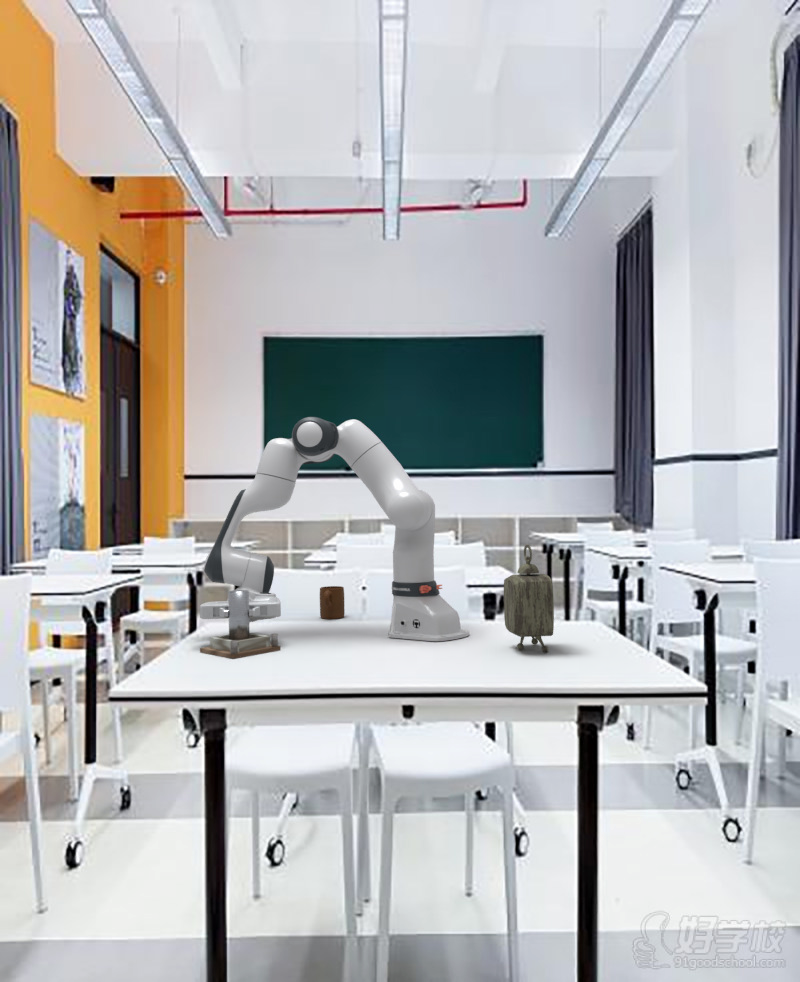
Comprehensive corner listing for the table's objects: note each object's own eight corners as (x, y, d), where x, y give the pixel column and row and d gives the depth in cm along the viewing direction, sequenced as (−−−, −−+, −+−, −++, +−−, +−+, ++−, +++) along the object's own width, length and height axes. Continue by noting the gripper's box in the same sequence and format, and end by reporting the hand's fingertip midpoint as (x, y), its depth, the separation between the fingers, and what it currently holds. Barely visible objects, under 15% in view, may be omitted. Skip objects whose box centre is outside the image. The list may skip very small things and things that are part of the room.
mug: (338, 621, 256) (338, 590, 256) (314, 621, 257) (313, 590, 257) (346, 615, 268) (346, 585, 268) (323, 616, 269) (322, 586, 269)
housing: (280, 650, 211) (280, 633, 211) (233, 658, 201) (232, 641, 201) (246, 644, 220) (246, 628, 220) (200, 652, 210) (199, 635, 210)
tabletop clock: (554, 654, 197) (552, 546, 197) (516, 655, 197) (513, 547, 197) (540, 643, 212) (537, 542, 212) (504, 644, 211) (501, 543, 211)
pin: (253, 639, 211) (252, 590, 211) (236, 642, 207) (236, 592, 207) (241, 637, 214) (240, 589, 214) (225, 640, 211) (224, 591, 211)
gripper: (202, 595, 222) (195, 602, 209) (281, 593, 225) (279, 599, 211) (202, 619, 222) (195, 628, 209) (282, 617, 225) (280, 625, 211)
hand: (238, 613), depth 210 cm, fingers closed on pin, 5 cm apart
